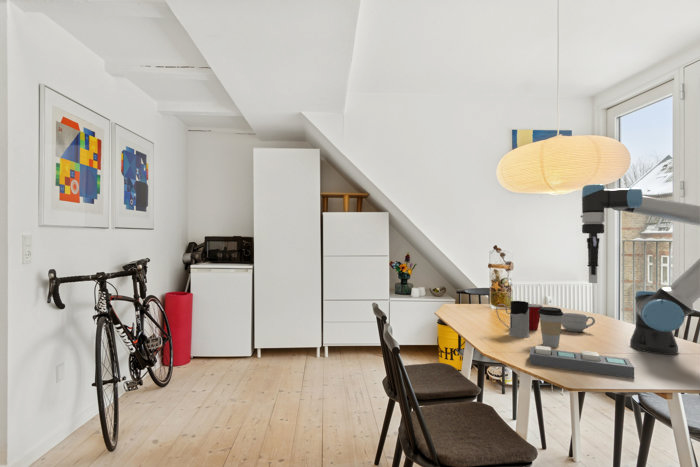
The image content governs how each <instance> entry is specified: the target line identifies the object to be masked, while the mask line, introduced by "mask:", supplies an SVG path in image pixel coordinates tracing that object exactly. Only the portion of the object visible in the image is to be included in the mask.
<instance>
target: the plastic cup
mask: <svg viewBox="0 0 700 467" xmlns="http://www.w3.org/2000/svg"><path fill="white" fill-rule="evenodd" d="M541 307H544V304H537V303H529V331H538V329H539V326H540V325H539V324H540V314H539V313H538V310H540V308H541Z"/></svg>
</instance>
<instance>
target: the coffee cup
mask: <svg viewBox="0 0 700 467" xmlns="http://www.w3.org/2000/svg"><path fill="white" fill-rule="evenodd" d="M538 313H539V314H540V320H539V324H540V325H539V326H540V332H541V337H542V339H541V340H542V346H546V347H551V348H557V347H560V337H561V331H562V315H564V314H563V313H564V312H563V311H562V308H559V307H555V306H554V307H552V306H543V307H541V308H540V310H538Z"/></svg>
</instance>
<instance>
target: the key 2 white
mask: <svg viewBox="0 0 700 467" xmlns="http://www.w3.org/2000/svg"><path fill="white" fill-rule="evenodd" d="M581 353H582V359H586V360H594V361H600V356H599V355H600V354H599V352H597V351H589V350H587V351H586V350H581Z"/></svg>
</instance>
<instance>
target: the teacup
mask: <svg viewBox="0 0 700 467" xmlns="http://www.w3.org/2000/svg"><path fill="white" fill-rule="evenodd" d="M563 314H564V315H562V325H561V327H563V328H564V329H565V331H568V332H573V333H574V332H575V333H580V332H581V333H582V332H583V331H584V330H586V329H588V328H590V327H592V326H593V325H595V323H596V320H595V317H593V316H587V315H586V314H583V313H582V314H581V313H574V312H571V313H570V312H563ZM589 319H591V320H592V322H591V323H589V324H587V322H588V320H589Z"/></svg>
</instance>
